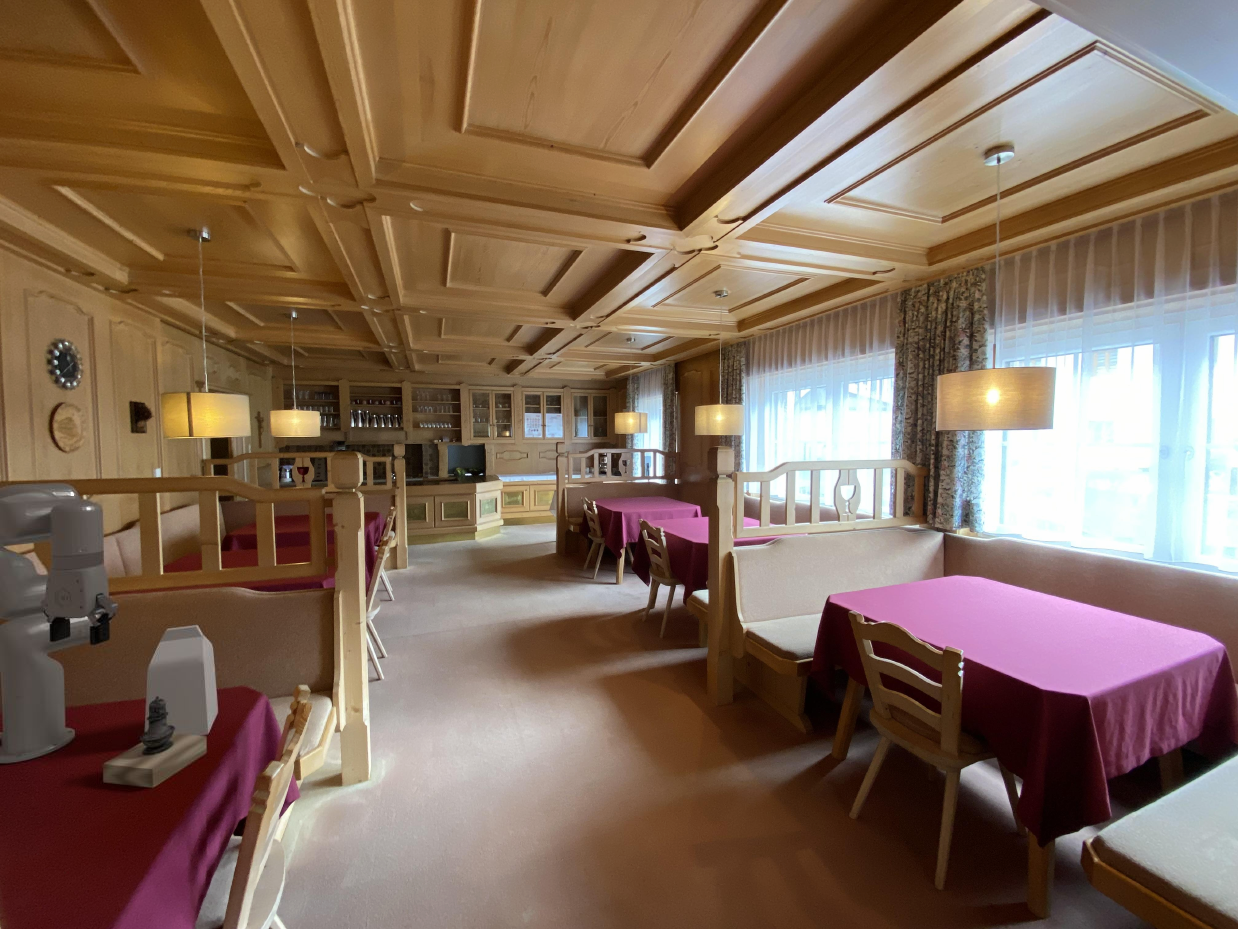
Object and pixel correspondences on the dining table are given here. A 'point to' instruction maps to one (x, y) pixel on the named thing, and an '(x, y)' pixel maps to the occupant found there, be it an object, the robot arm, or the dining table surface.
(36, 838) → the dining table surface
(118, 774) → the beech block
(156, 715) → the black chess piece
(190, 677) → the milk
